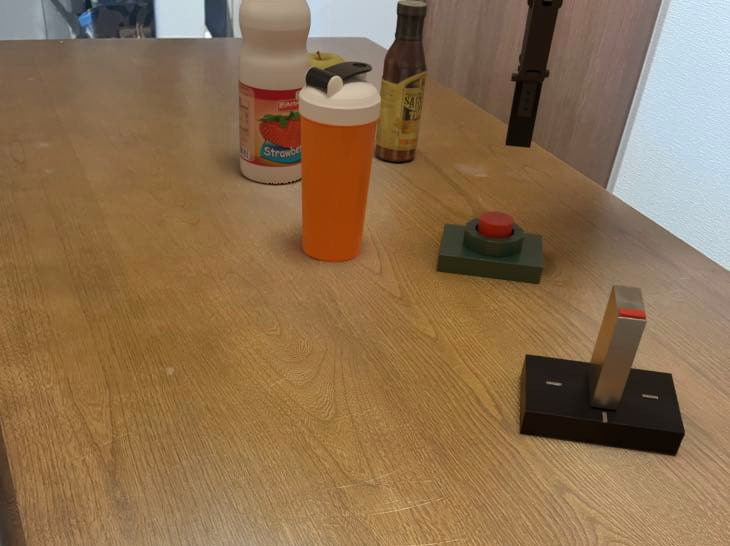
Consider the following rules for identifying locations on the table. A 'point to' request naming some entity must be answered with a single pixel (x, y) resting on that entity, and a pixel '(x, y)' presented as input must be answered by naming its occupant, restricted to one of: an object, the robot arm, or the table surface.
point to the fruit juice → (272, 87)
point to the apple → (324, 59)
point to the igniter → (491, 254)
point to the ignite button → (495, 224)
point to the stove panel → (597, 425)
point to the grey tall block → (616, 346)
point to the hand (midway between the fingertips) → (517, 144)
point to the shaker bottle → (336, 158)
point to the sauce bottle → (402, 86)
